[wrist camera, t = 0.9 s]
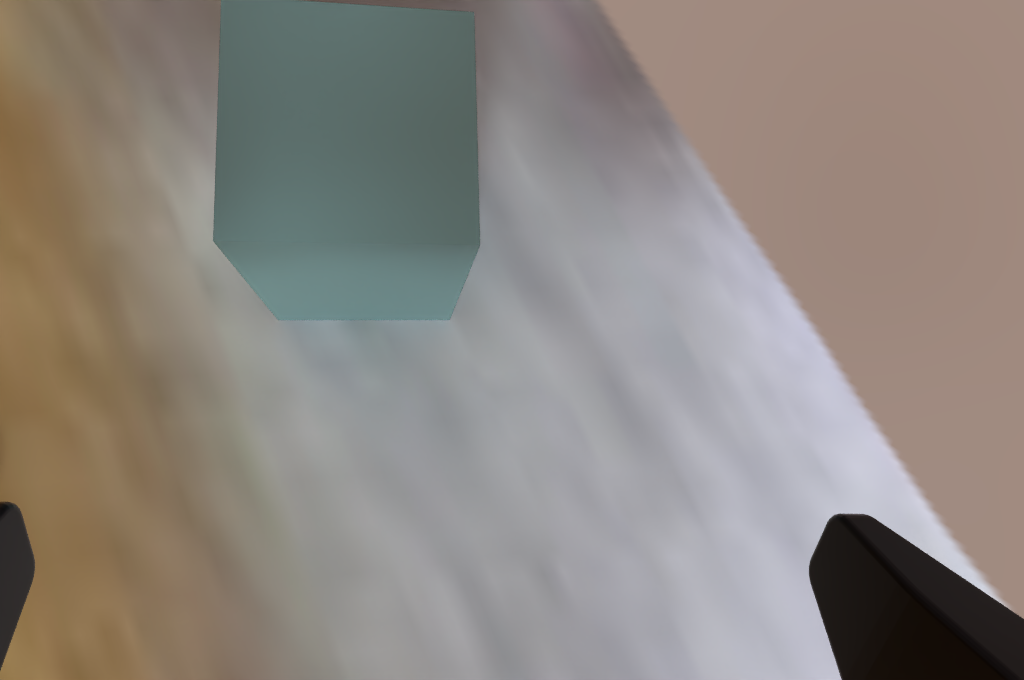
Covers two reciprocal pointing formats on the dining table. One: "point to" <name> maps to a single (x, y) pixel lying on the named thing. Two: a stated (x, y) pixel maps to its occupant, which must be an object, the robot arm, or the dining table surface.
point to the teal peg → (347, 157)
